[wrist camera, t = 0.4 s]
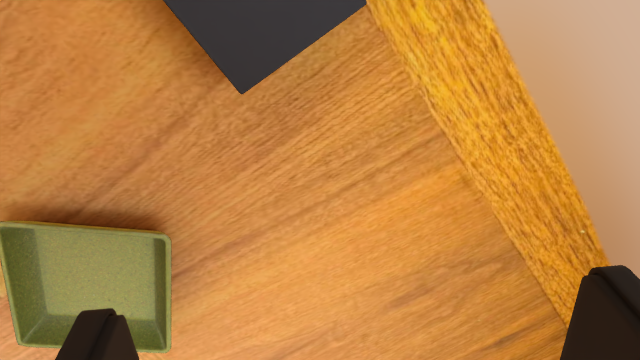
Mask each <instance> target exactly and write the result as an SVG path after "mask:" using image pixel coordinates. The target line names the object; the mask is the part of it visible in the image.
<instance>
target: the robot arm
mask: <svg viewBox="0 0 640 360" xmlns="http://www.w3.org/2000/svg"><path fill="white" fill-rule="evenodd" d="M55 360H139V357H138V354H137V351H136V348H135V345H134V342H133V339H132V336H131V333H130V330H129V327H128V324H127V321H126V318H125V316H124V315H117V313H116V311H115V310H114V309H113V308H107V309H95V310H83V311H82V312H80V313H79V315H78V316H77V318H76V320H75V322H74V324H73V326H72V328H71V330H70V331H69V333H68V335H67V337H66V339H65V341H64V343H63V345H62V347H61V349H60V351H59V353H58V355H57V357H56V359H55ZM560 360H640V279H639V278H638V277H637V276H635V274H633V272H632V271H631V270H630V269H628V268H627V267H625V266H623V265H618V266H606V267H596V268H592V269H591V270H590V272H589V274H588V275H586V276H584V277H583V278H582V280H581V284H580V288H579V291H578V295H577V299H576V302H575V306H574V310H573V313H572V317H571V321H570V324H569V328H568V332H567V335H566V339H565V343H564V346H563V350H562V354H561V358H560Z"/></svg>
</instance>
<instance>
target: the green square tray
mask: <svg viewBox="0 0 640 360" xmlns="http://www.w3.org/2000/svg"><path fill="white" fill-rule="evenodd" d="M0 260H1V266H2V270H3V274H4V280H5V285H6V289H7V295H8V300H9V305H10V311H11V316H12V320H13V326H14V330H15V336H16V340H17V343H18V345H22V346H26V347H41V348H61V347H62V345H63V343H64V341H65V339H66V337H67V335H68V333H69V331H70V330H71V328H72V326H73V324H74V322H75V320H76V318H77V316H78V315H79V313H80V312H82V311H83V310H95V309H107V308H113V309H114V310H115V311H116V313H117V315H124V316H125V318H126V321H127V324H128V327H129V330H130V333H131V336H132V339H133V342H134V345H135V348H136V351H137V352H148V353H167V352H169V350H170V349H171V239H170V237H169V236H168V235H166V234H165V233H163V232H160V231H152V230H139V229H125V228H112V227H99V226H85V225H73V224H61V223H49V222H37V221H22V220H11V221H1V222H0Z"/></svg>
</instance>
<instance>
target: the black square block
mask: <svg viewBox="0 0 640 360" xmlns="http://www.w3.org/2000/svg"><path fill="white" fill-rule="evenodd" d="M163 1H164V2H165V3H166V4H167V6H168V7H169V8H170V9H171V11H172V12H173V13H174V14H175V15H176V17H177V18H178V19H179V20H180V21H181V23H182V24H183V25H184V26H185V27H186V29H187V30H188V31H189V32H190V34H191V35H192V36H193V37H194V38H195V40H196V41H197V42H198V43H199V44H200V46H201V47H202V48H203V49H204V50H205V52H206V53H207V54H208V55H209V57H210V58H211V59H212V60H213V61H214V63H215V64H216V65H217V66H218V67H219V69H220V70H221V71H222V72H223V73H224V75H225V76H226V77H227V78H228V80H229V81H230V82H231V83H232V84H233V86H234V87H235V88H236V89H237V90H238V92H239V93H240V94H244V93H245V92H247V91H248V90H249V89H251V88H252V87H253V86H255V85H256V84H258V83H259V82H260V81H262V80H263V79H264V78H266V77H267V76H269V75H270V74H271V73H273V72H274V71H275V70H277V69H278V68H280V67H281V66H282V65H284V64H285V63H286V62H288V61H289V60H291V59H292V58H293V57H295V56H296V55H297V54H299V53H300V52H302V51H303V50H304V49H306V48H307V47H308V46H310V45H311V44H313V43H314V42H315V41H317V40H318V39H319V38H321V37H322V36H323V35H325V34H326V33H328V32H329V31H330V30H332V29H333V28H334V27H336V26H337V25H339V24H340V23H341V22H343V21H344V20H345V19H347V18H348V17H350V16H351V15H352V14H354V13H355V12H356V11H358V10H359V9H361V8H362V7H363V6H365V5H366V0H163Z"/></svg>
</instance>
